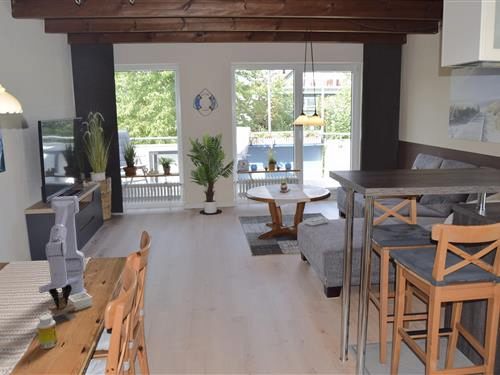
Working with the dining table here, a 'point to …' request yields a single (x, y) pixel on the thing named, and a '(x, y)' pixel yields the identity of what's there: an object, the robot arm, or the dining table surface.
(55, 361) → the dining table surface
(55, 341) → the supplement bottle
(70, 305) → the lid
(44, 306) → the dining table surface
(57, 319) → the mat
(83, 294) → the dish
